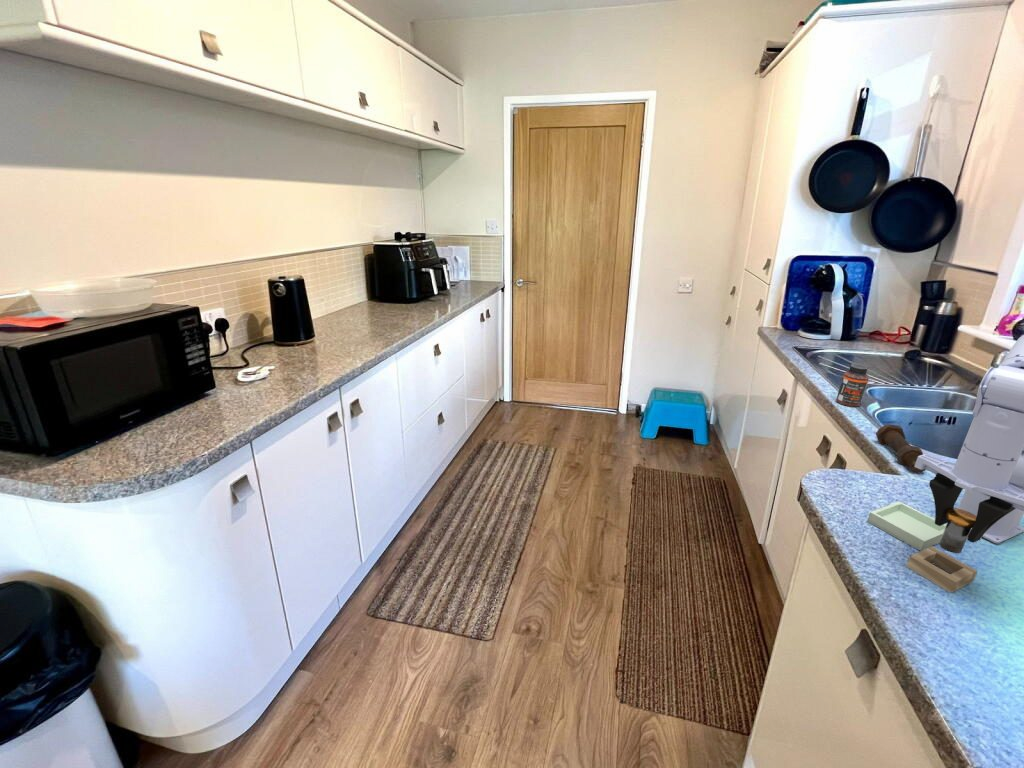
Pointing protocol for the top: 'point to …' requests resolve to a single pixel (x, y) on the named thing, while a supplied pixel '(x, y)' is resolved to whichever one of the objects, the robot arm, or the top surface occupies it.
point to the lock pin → (957, 529)
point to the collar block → (949, 582)
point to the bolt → (899, 445)
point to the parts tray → (907, 525)
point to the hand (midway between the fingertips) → (956, 531)
